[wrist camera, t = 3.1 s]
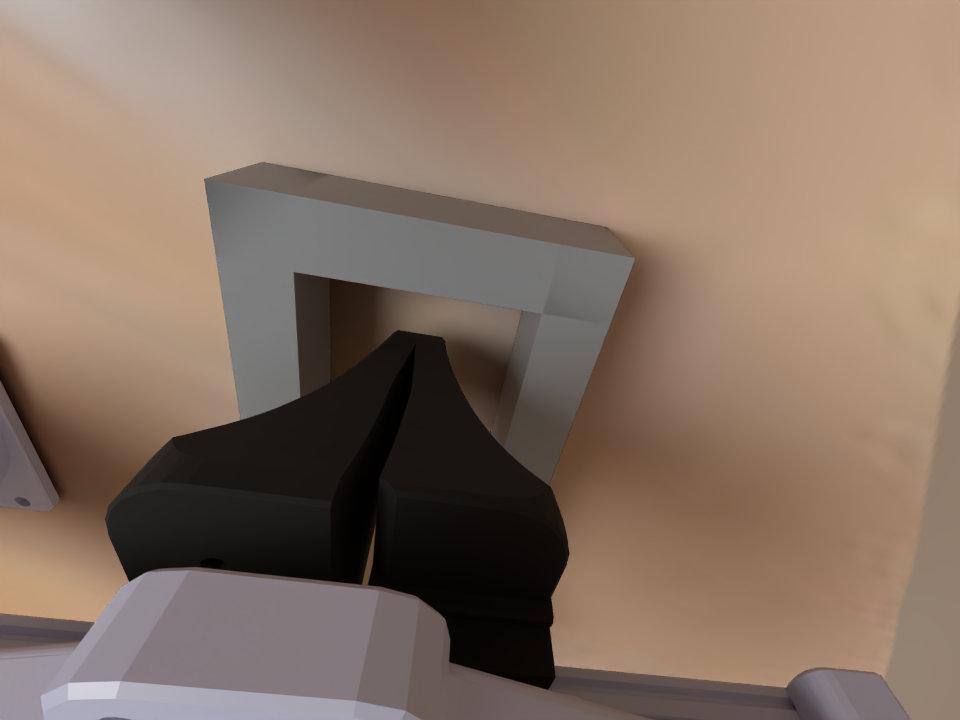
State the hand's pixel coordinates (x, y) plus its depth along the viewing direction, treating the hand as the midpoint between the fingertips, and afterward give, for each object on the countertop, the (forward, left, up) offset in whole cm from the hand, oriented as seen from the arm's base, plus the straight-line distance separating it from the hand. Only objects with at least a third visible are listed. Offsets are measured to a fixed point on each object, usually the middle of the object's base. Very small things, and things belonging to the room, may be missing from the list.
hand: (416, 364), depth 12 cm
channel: (0, -10, -1) cm, 10 cm away
